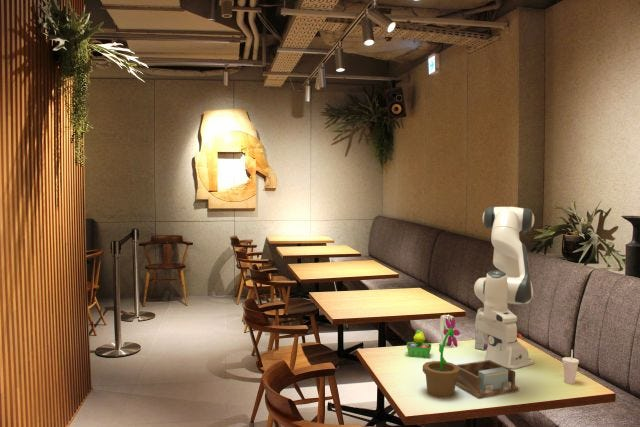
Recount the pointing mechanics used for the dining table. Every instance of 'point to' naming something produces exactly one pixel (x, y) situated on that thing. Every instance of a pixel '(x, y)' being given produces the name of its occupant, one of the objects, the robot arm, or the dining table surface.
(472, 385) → the wooden box
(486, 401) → the dining table surface
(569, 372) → the smoothie
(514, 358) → the robot arm
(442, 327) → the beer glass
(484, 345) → the candy bar box
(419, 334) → the fruit basket
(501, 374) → the grey box with stripe
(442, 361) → the flowerpot
